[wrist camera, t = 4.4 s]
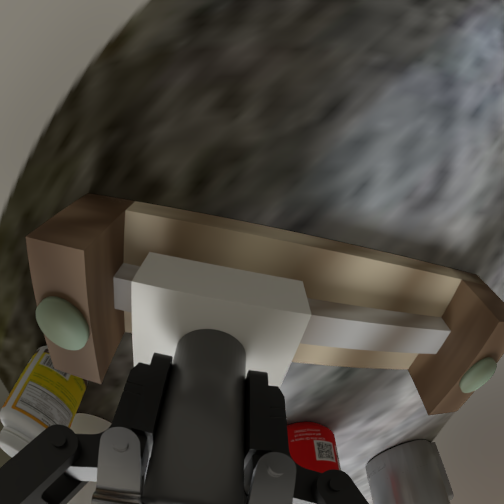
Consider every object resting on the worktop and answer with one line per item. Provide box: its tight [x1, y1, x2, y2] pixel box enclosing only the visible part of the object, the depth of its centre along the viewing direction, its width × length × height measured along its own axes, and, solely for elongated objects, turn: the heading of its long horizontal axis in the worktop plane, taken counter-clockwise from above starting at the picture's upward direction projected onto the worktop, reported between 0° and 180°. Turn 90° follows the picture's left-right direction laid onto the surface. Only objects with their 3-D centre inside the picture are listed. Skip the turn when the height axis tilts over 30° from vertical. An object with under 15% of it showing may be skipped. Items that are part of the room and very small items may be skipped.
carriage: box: [131, 252, 311, 504], centre depth 11 cm, size 7×6×10 cm
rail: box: [26, 193, 504, 415], centre depth 15 cm, size 26×8×6 cm, turn 78°
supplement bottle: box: [0, 346, 88, 457], centre depth 17 cm, size 6×6×10 cm
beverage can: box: [287, 422, 341, 473], centre depth 20 cm, size 6×6×12 cm
